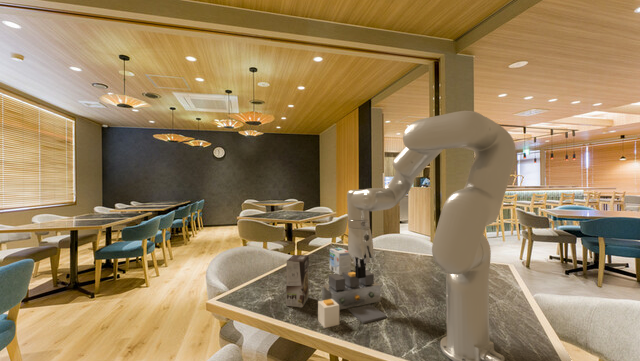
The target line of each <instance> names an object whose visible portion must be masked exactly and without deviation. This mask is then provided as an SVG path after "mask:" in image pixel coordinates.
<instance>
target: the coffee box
mask: <svg viewBox="0 0 640 361" xmlns="http://www.w3.org/2000/svg"><path fill="white" fill-rule="evenodd" d="M309 259H310V255H307V254H293V255H292V256H290V257H289V258H288V259H286V269H285V270H286V276H285V277H286V281H285V282H286V283H285V286H286V291H285V294H286V297H285V299H286V300H285V305H286V306H287V307H295V308H303V307H304V306H305V304H306V302H308V299H309V296H310V292H309V291H310V289H309V288H310V285H309V283H310V282H309V281H310V280H309V278H310V277H309V275H310V274H309V271H310V270H309V269H310V268H309V263H310V261H309Z"/></svg>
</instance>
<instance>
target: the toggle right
mask: <svg viewBox="0 0 640 361" xmlns="http://www.w3.org/2000/svg"><path fill="white" fill-rule="evenodd" d="M374 275H375V274H374V273H372V272H370V271H368V270H367V269H366V277H365V278H360V279H359V282H361V283H362V284H364V285H371V284H374V282H375V278H374V277H375V276H374Z"/></svg>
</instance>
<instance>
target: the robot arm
mask: <svg viewBox="0 0 640 361" xmlns="http://www.w3.org/2000/svg"><path fill="white" fill-rule="evenodd" d="M402 141H403V145H404V148H402V150H401V151H400V152H399V153H398V154H397V155H396V156H395V157H394V159H393V160H392V166H393V169H394V170H395V174H394V175H393V177H392V178H391V180H390V181H389V182H388V183H387V184H386V185H385V186H384V187H372V188H364V189H363V188H362V189H359V188H358V189H350V190H348V191H347V193H346V203H347V229H348V232H347V249H348V251H349V254H350V255H351V259H353V263H354V264H353V265H354V268H355V271H354V272H355V275H356V277H357V278H358V279H360V278H365V277H366V270H367V269H366V267H367V264H370V263H371V260H370V259H372V258H374V255H375V254H374V253H375V251H374V242H373V235H372V230H371V226H370V212H378V211H385V210H391V209H392V208H394V207H396V206H397V205H398V204H399V203H400V202H401V201H402V200H403V199H404V198H405V196H407V194H408V193H409V192H410V191H411V188H412V186H413V184H414V183H415V182H414V181H415V179H416V178H417V177H418V176H419V175H420V174H421V173H422V172H423V171H424V170H425V168H426V167H428V165H430V164H431V163H432V162H433V161H434V160H435V159H436V158H437V157H438V155H439V154H440V153H442V152H443V151H444V150H449V149H458V148H459V149H460V148H461V149H465V150H469V151H470V150H471V151H473V152H474V155H475V156H474V159H473V162H472V163H471V165H470V168H469V171H468V175H467V178H466V182H465V184H464V187H463V188H461V189H458V190H455V191H454V192H452V193H450V195H449V196H448V197H447V199H446V200H445V202H444V204H443V205H442V206H443V207H442V209H441V211H440V215H439V219H438V222H437V227H436V230H435V233H434V237H433V240H432V244H431V255H432V258H433V260H434V263H435V264H436V266H438V268H439V269H440V270H442V271H443V272H445V273H446V279H445V284H446V285H445V287H446V288H445V293H446V296H445V300H446V301H445V302H446V303H445V305H446V306H445V307H446V308H445V310H446V336H444V337H442V338H441V339H440V346H439V347H440V350H441V352H442V353H443V354H444V355H445V356H446V357H447V358H448V359H449V360H451V361H505V355H503V354H501V353H498V352H497V351H496V350H495V343H494V342H493V341H491V340H490V308H489V307H490V306H489V305H490V302H489V301H490V300H489V299H490V298H489V296H490V294H489V293H490V286H489V285H490V269H491V267H490V266H491V256H492V255H491V253H492V250H491V245H490V243H489V241H488V238H487V237H486V236H485V235H484V233H485V230H486V227H487V226H489V225H491V224H492V223H494V222H495V221H496V220H497V219H498V218H499V215H500V213H501V208H502V204H503V202H504V198H505V195H506V191H507V188H508V186H509V181H510V177H511V174H512V172H513V168H514V165H515V160H516V152H517V151H516V149H517V148H516V144H515V141H514V138H513V137H512V135H511V133H510V132H508V130H507V129H505V128H504V127H503V126H502V125H500V124H499V123H497V122H496V121H494V120H492V119H490V118H489V117H487V116H485V115H483V114H482V113H480V112H477V111H474V110H460V111H454V112H449V113H444V114H440V115H435V116H431V117H429V116H428V117H426V118H420V119H418V120H415V121H413V122H411V123H410V124H408V126H406V128H405V130H404V132H403V134H402Z"/></svg>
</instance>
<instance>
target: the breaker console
mask: <svg viewBox="0 0 640 361" xmlns="http://www.w3.org/2000/svg"><path fill="white" fill-rule="evenodd" d="M321 298H322V299H321V301H323V300H328V299H333V300H334V301H335V302H336V303H337V304H339V311H341V310H345V309H351V308H356V307H361V306H366V305H371V304H373V303H378V302H379V303H380V302H381V284H380V283H378V282H376V281H374V284H371V285H364V284H362V283H361V282H359V286H356V287H349V286H348V285H346V284H345V289H343V290H337V291H336V290H335V289H333V288H332V287H331V286H330V285H329V283H327V284H324V285H322V286H321Z"/></svg>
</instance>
